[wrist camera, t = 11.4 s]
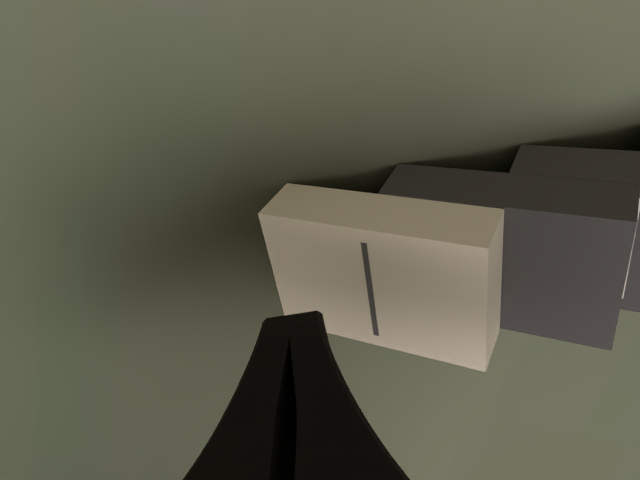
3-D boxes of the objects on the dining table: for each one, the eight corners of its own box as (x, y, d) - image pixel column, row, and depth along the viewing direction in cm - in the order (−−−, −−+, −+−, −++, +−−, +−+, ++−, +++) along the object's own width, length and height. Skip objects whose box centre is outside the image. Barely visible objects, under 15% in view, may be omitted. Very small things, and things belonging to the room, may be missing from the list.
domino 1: (287, 182, 16) (504, 208, 13) (310, 289, 18) (499, 329, 16) (257, 213, 15) (488, 248, 12) (286, 323, 17) (485, 372, 15)
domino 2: (390, 305, 17) (611, 350, 15) (378, 193, 15) (637, 222, 12) (407, 272, 18) (616, 309, 16) (398, 163, 16) (640, 184, 13)
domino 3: (505, 289, 17) (750, 331, 14) (509, 173, 15) (801, 196, 12) (516, 257, 18) (745, 290, 15) (520, 144, 16) (791, 159, 13)
